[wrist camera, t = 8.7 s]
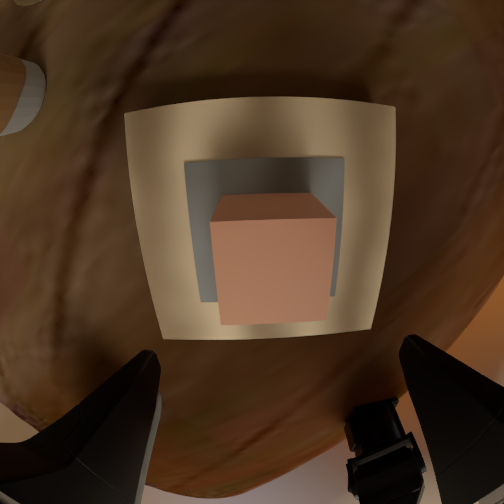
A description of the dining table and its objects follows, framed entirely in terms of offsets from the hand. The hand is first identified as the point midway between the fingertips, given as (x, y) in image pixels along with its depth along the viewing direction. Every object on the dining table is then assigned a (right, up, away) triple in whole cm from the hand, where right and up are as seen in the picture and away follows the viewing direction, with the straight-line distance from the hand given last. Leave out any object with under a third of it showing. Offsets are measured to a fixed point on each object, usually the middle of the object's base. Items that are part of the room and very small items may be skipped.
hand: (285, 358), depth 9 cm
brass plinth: (0, +6, +10) cm, 12 cm away
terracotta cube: (0, +5, +7) cm, 9 cm away
